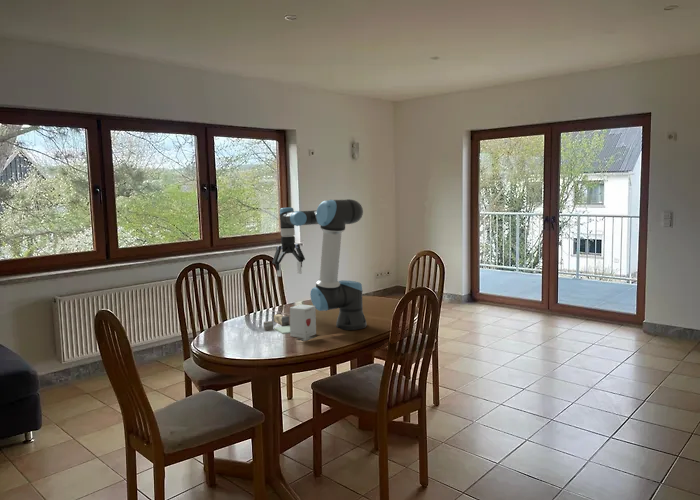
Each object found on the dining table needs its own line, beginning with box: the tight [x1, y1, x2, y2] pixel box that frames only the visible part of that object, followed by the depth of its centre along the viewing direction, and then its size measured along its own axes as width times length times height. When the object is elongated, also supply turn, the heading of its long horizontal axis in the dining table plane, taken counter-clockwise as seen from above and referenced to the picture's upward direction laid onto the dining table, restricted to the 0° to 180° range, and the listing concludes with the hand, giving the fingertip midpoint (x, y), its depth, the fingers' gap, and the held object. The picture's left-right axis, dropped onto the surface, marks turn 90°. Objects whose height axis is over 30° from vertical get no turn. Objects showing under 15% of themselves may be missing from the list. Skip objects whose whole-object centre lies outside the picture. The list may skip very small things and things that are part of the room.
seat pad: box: [273, 325, 290, 335], centre depth 264 cm, size 11×11×1 cm
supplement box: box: [289, 303, 317, 342], centre depth 253 cm, size 9×9×15 cm
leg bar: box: [273, 313, 290, 327], centre depth 277 cm, size 14×4×4 cm, turn 29°
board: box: [263, 320, 274, 331], centre depth 269 cm, size 28×22×5 cm
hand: (289, 274), depth 296 cm, fingers open, 13 cm apart
